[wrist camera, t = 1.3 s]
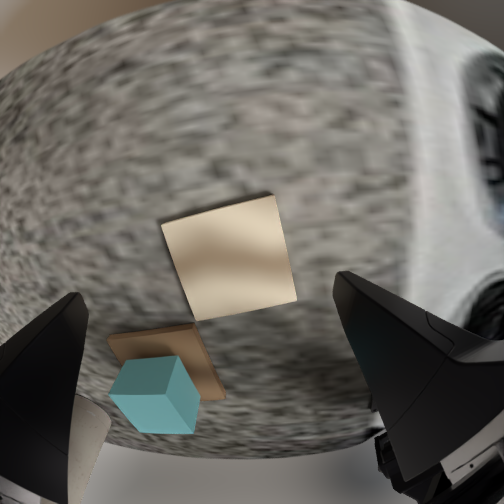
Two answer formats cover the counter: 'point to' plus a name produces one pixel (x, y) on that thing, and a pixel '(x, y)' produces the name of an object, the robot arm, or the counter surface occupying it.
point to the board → (232, 258)
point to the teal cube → (157, 395)
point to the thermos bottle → (84, 445)
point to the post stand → (172, 354)
